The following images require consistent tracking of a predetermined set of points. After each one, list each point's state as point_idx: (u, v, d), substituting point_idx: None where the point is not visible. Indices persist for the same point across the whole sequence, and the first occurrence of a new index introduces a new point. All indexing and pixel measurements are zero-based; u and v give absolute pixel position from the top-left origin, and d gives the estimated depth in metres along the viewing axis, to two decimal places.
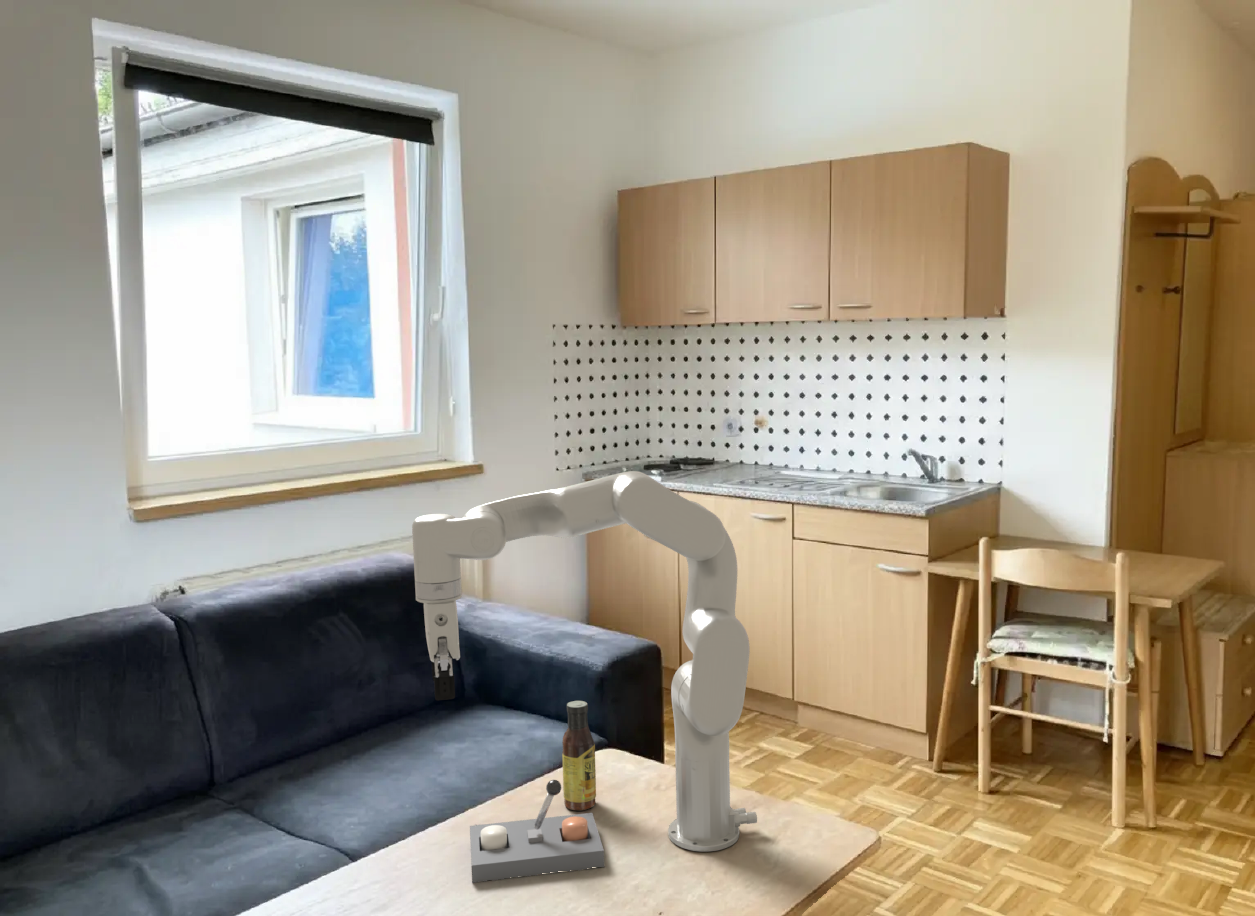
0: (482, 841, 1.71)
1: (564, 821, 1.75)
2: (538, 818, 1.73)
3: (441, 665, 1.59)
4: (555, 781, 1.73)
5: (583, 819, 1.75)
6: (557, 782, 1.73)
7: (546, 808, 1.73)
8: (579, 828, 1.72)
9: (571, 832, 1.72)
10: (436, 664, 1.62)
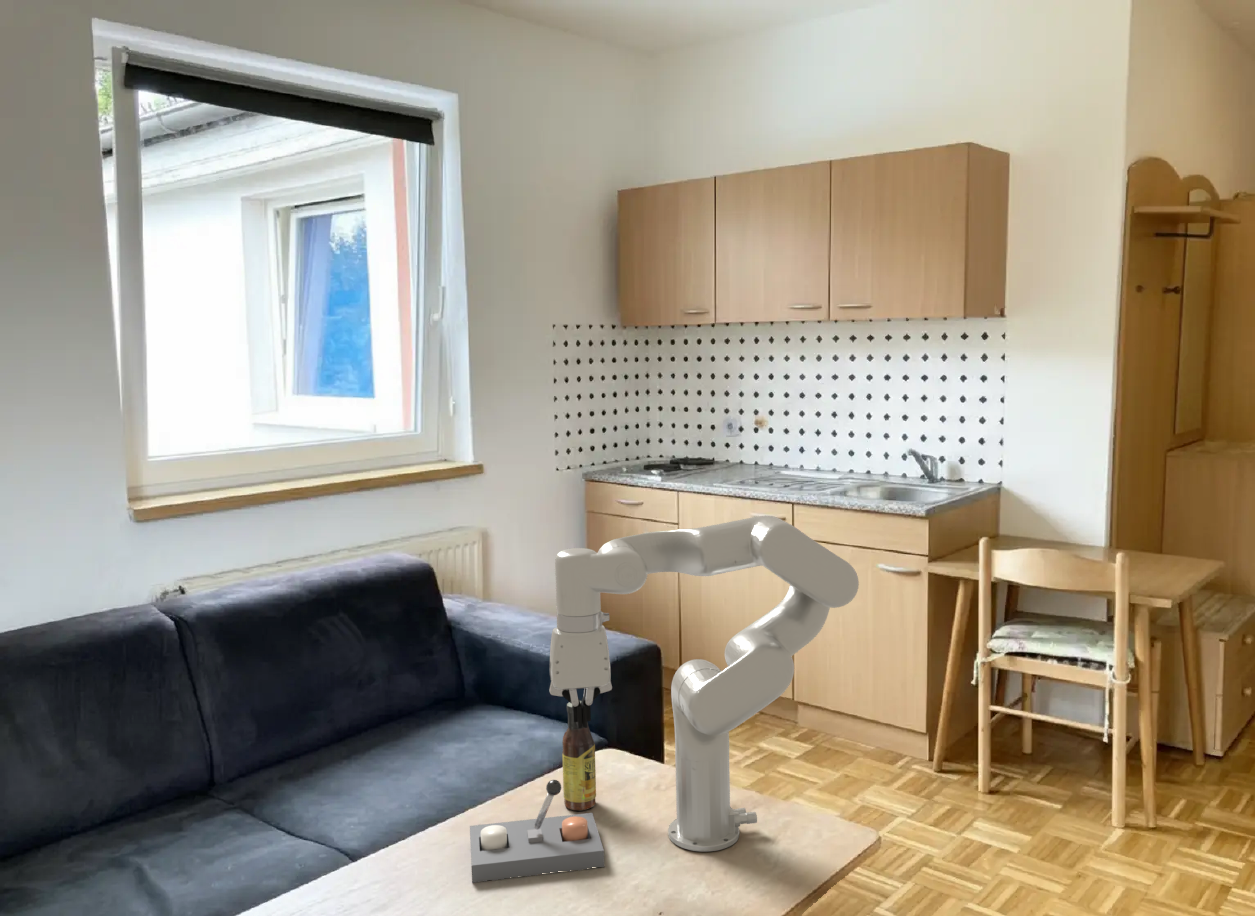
0: (482, 841, 1.71)
1: (564, 821, 1.75)
2: (538, 818, 1.73)
3: None
4: (555, 781, 1.73)
5: (583, 819, 1.75)
6: (557, 782, 1.73)
7: (546, 808, 1.73)
8: (579, 828, 1.72)
9: (571, 832, 1.72)
10: (593, 694, 1.71)
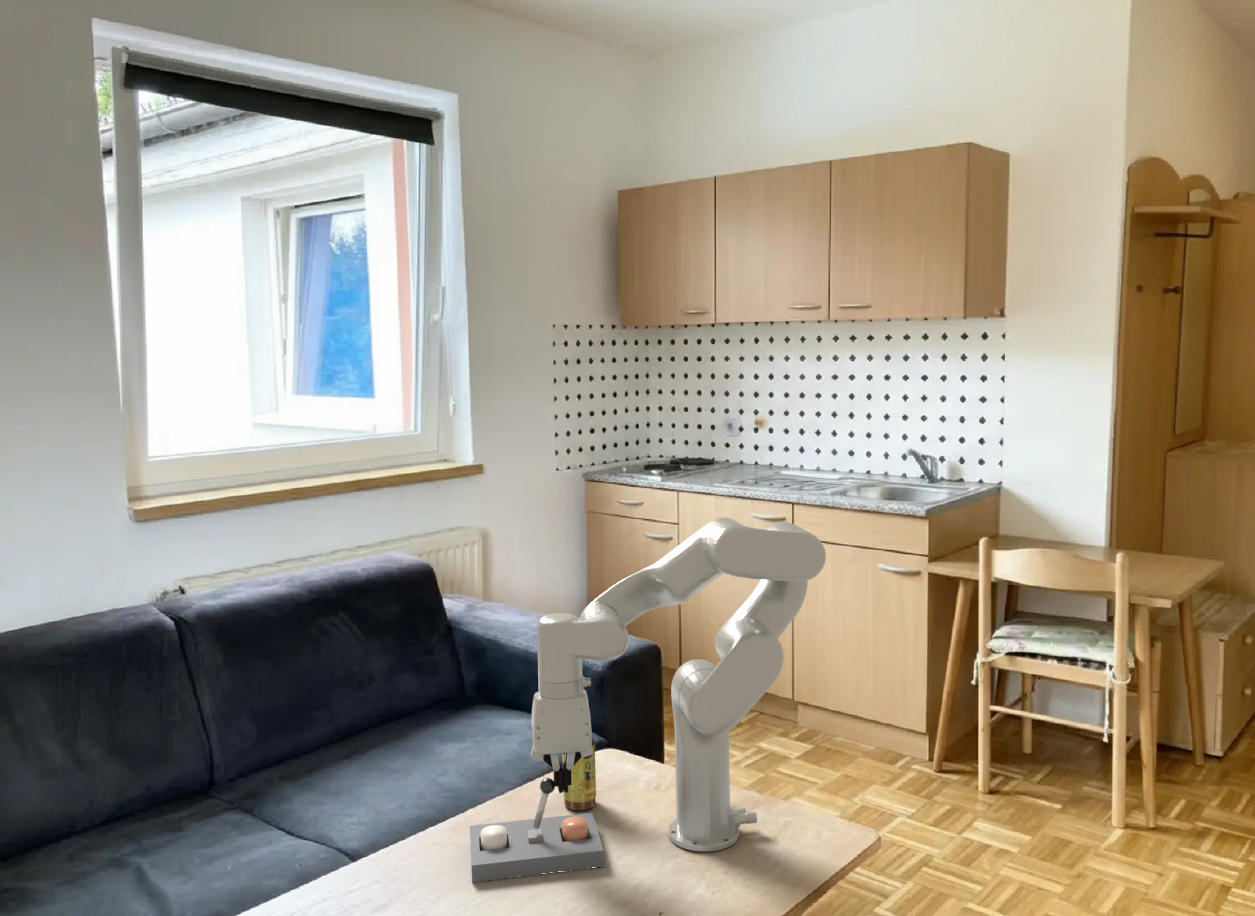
0: (482, 841, 1.71)
1: (564, 821, 1.75)
2: (536, 818, 1.73)
3: (584, 756, 1.73)
4: (548, 779, 1.72)
5: (583, 819, 1.75)
6: (550, 780, 1.72)
7: (542, 807, 1.73)
8: (579, 828, 1.72)
9: (571, 832, 1.72)
10: (574, 758, 1.72)
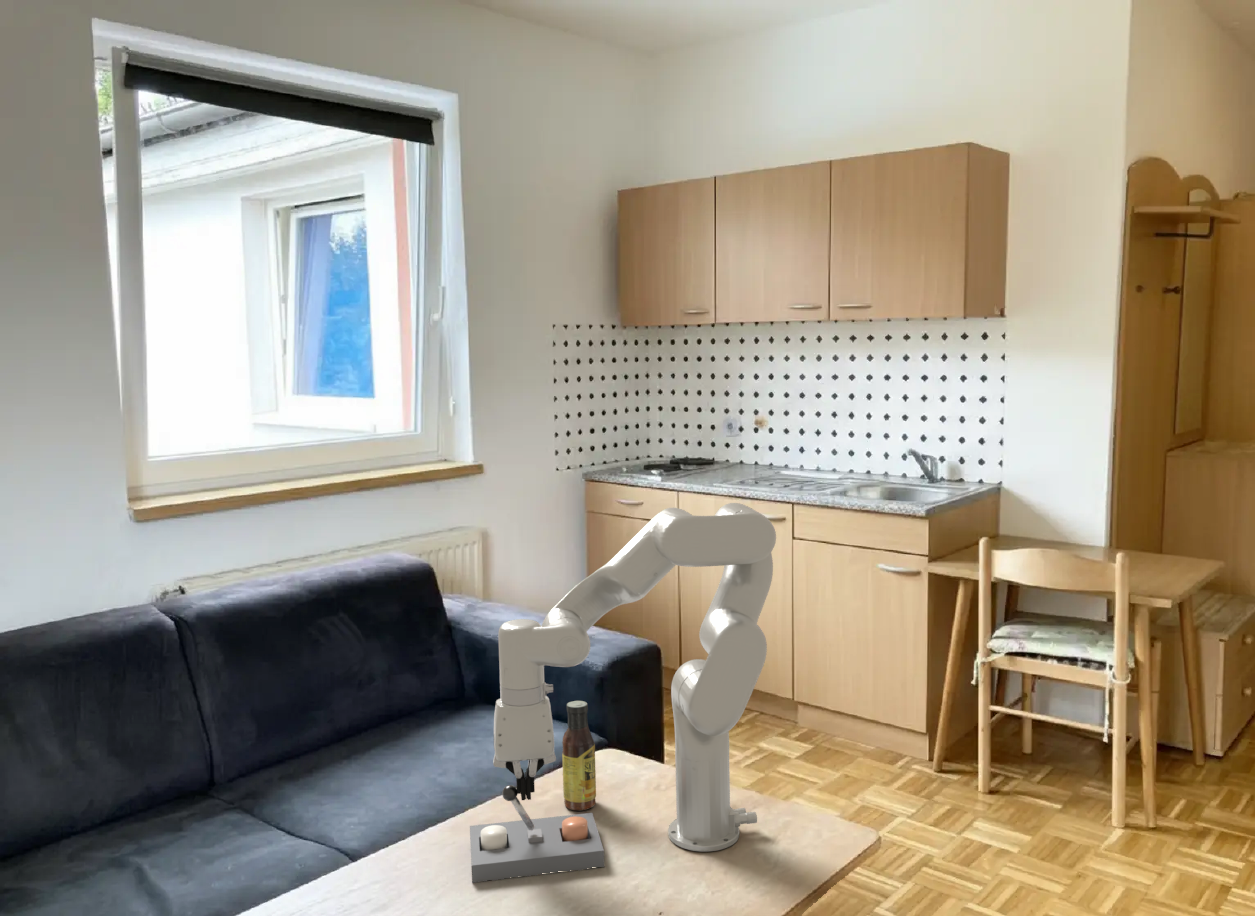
0: (482, 841, 1.71)
1: (564, 821, 1.75)
2: (524, 822, 1.72)
3: (546, 763, 1.72)
4: (505, 788, 1.71)
5: (583, 819, 1.75)
6: (507, 788, 1.71)
7: (521, 811, 1.72)
8: (579, 828, 1.72)
9: (571, 832, 1.72)
10: (536, 765, 1.71)
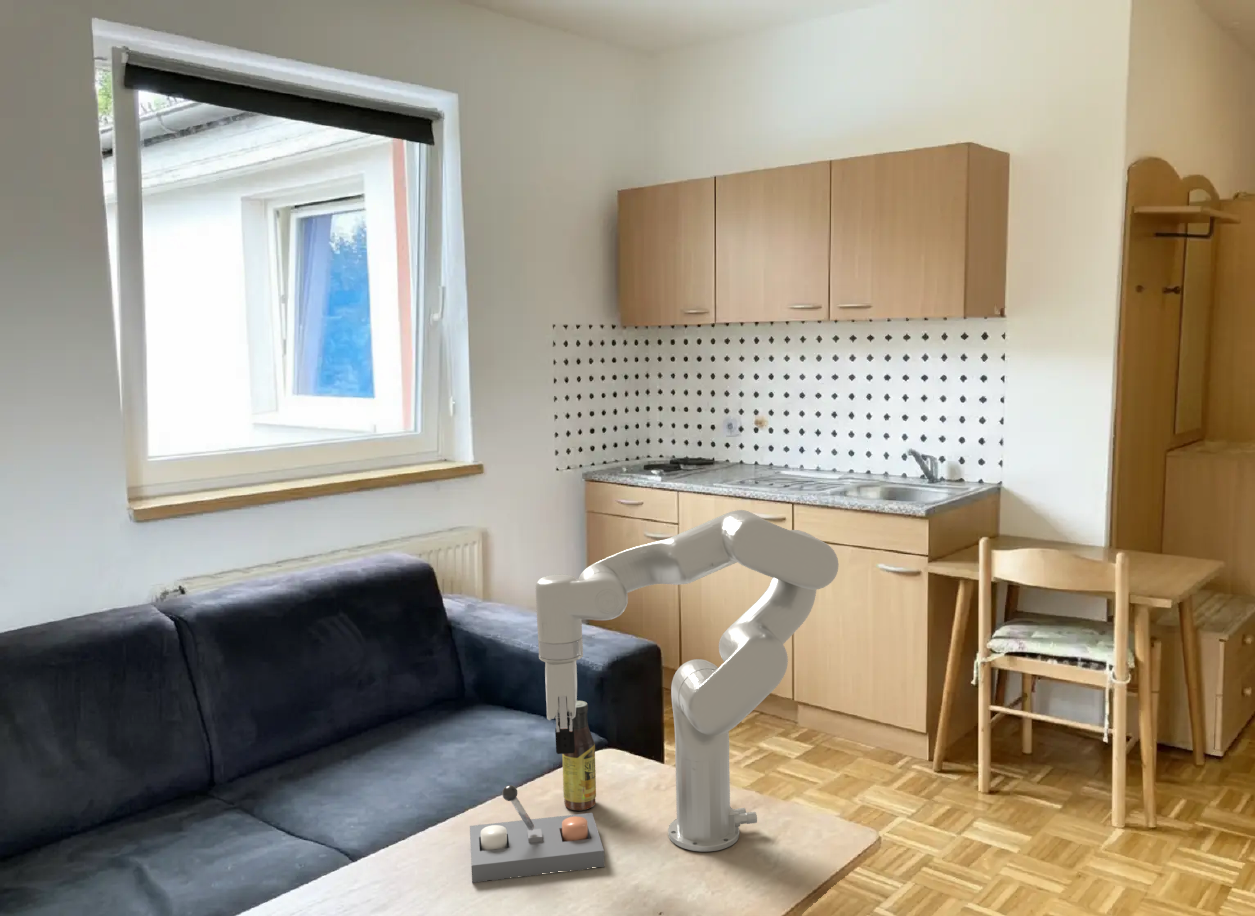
0: (482, 841, 1.71)
1: (564, 821, 1.75)
2: (524, 822, 1.72)
3: None
4: (505, 788, 1.71)
5: (583, 819, 1.75)
6: (507, 788, 1.71)
7: (521, 811, 1.72)
8: (579, 828, 1.72)
9: (571, 832, 1.72)
10: None
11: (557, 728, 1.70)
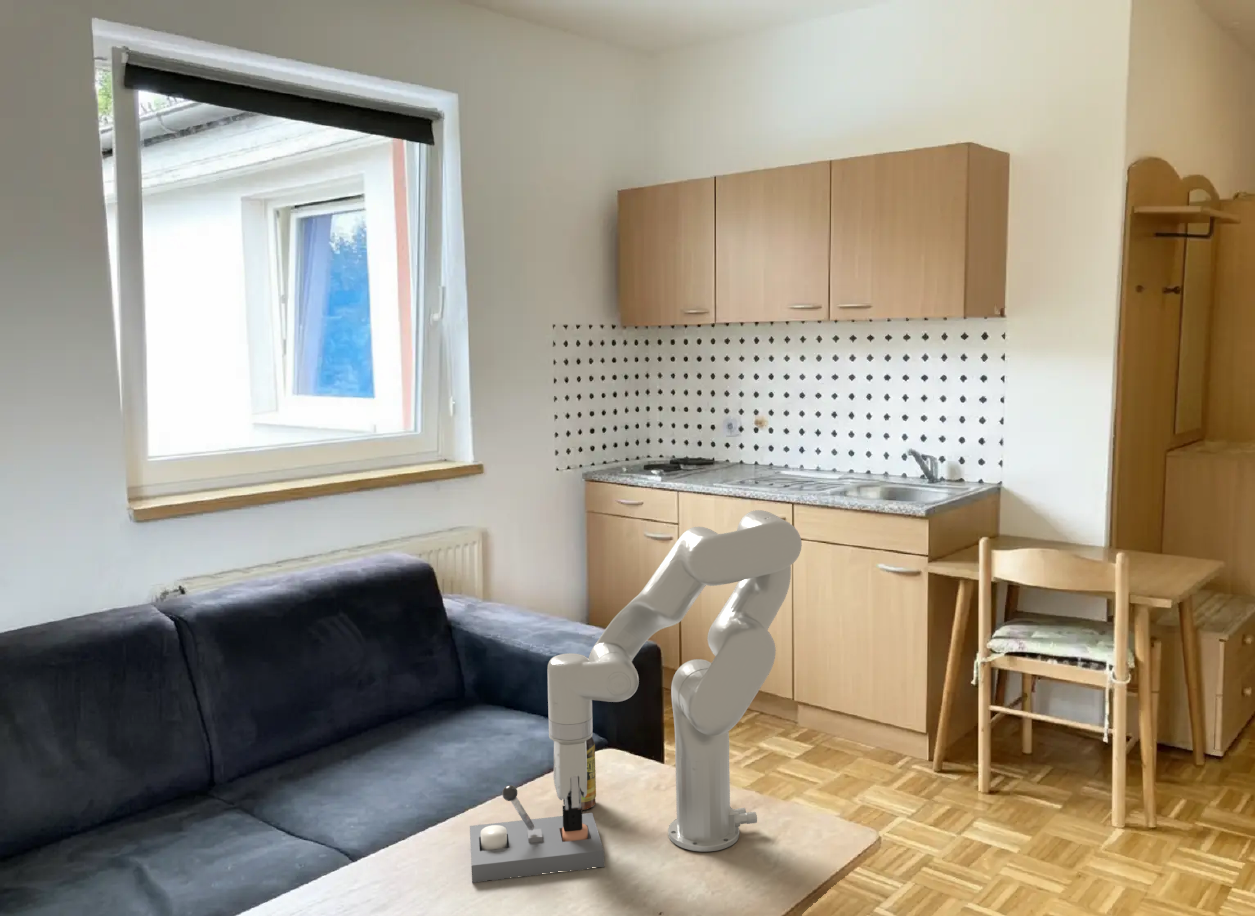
0: (482, 841, 1.71)
1: None
2: (524, 822, 1.72)
3: None
4: (505, 788, 1.71)
5: (583, 825, 1.76)
6: (507, 788, 1.71)
7: (521, 811, 1.72)
8: (579, 834, 1.73)
9: (571, 838, 1.72)
10: None
11: (566, 806, 1.72)
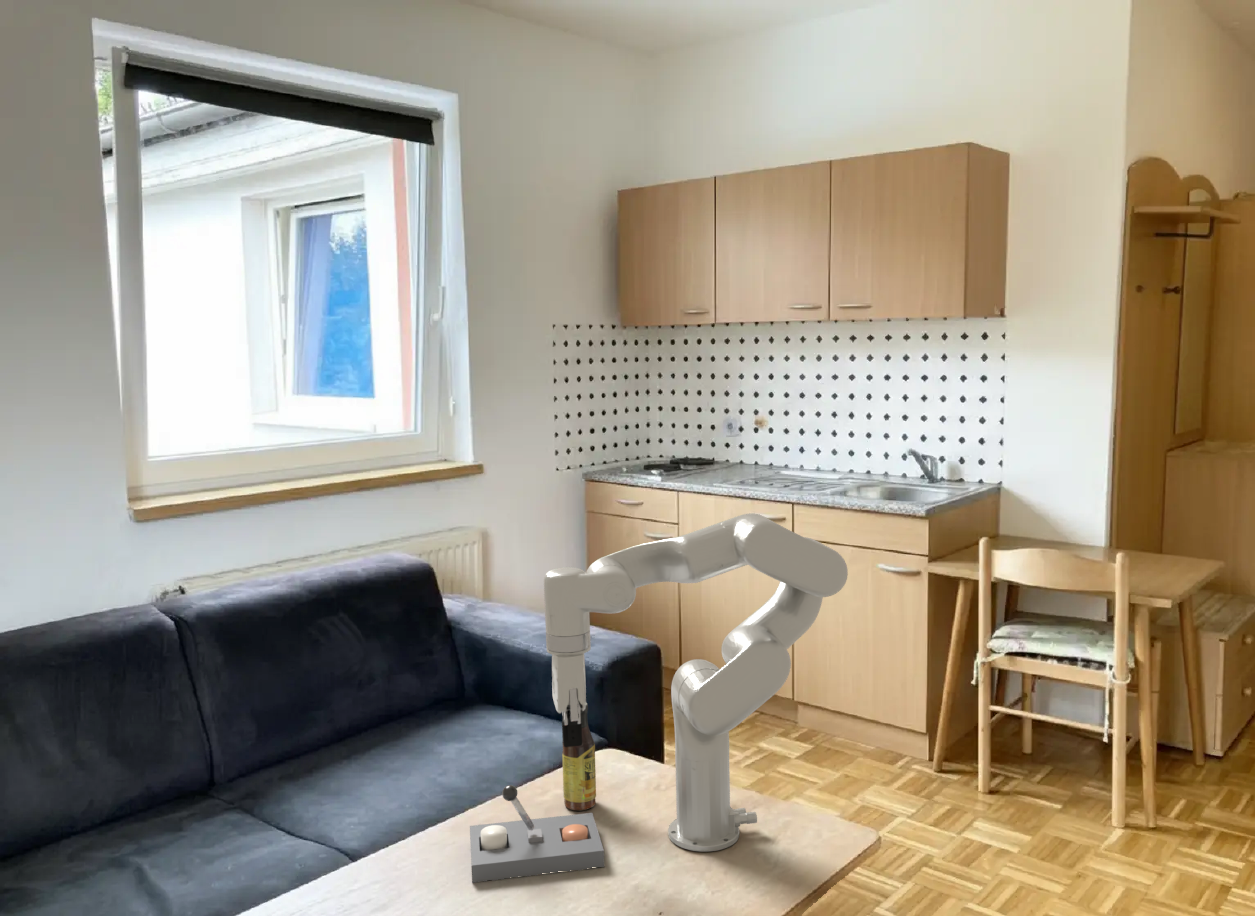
0: (482, 841, 1.71)
1: (564, 829, 1.75)
2: (524, 822, 1.72)
3: None
4: (505, 788, 1.71)
5: (583, 827, 1.76)
6: (507, 788, 1.71)
7: (521, 811, 1.72)
8: (579, 836, 1.73)
9: (571, 840, 1.73)
10: None
11: (565, 721, 1.70)
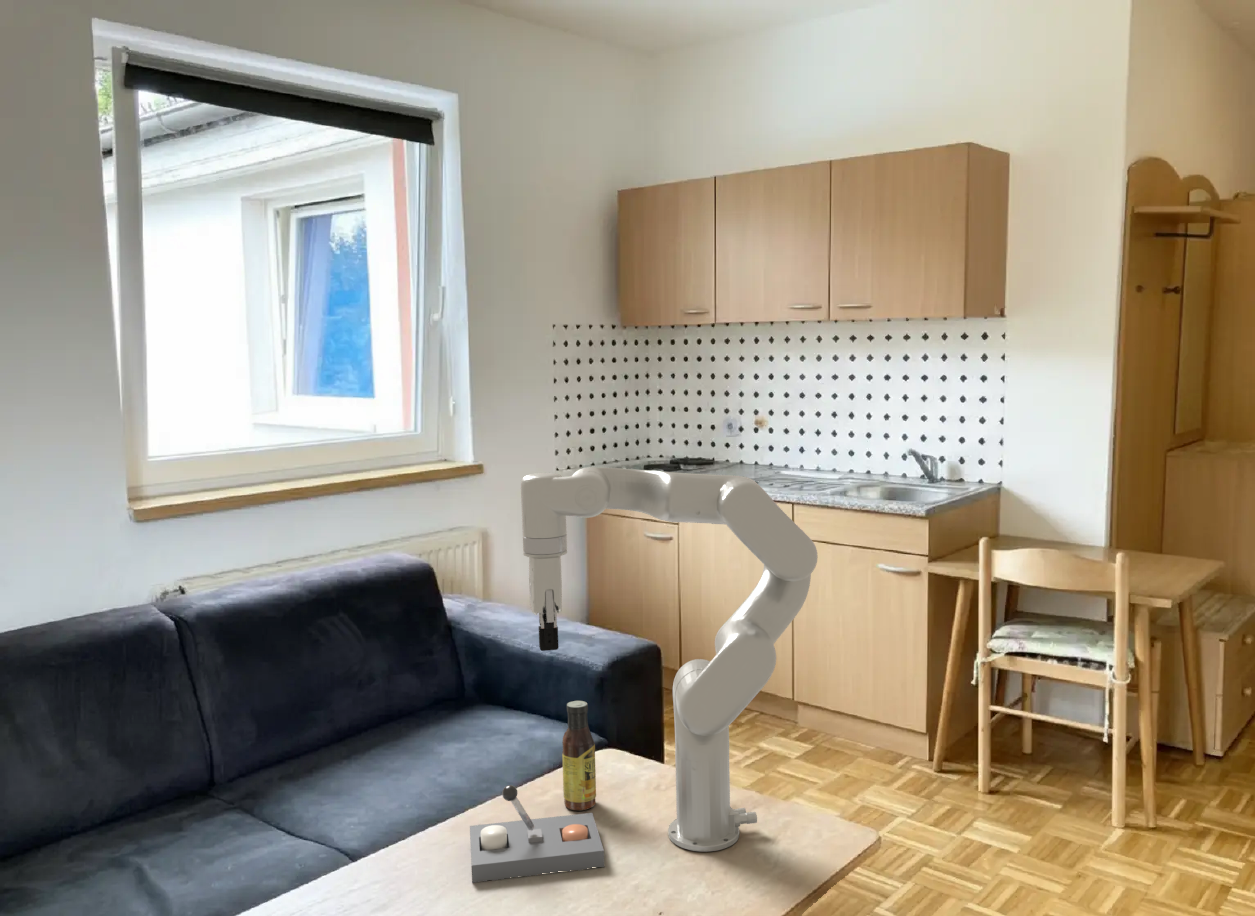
0: (482, 841, 1.71)
1: (564, 829, 1.75)
2: (524, 822, 1.72)
3: None
4: (505, 788, 1.71)
5: (583, 827, 1.76)
6: (507, 788, 1.71)
7: (521, 811, 1.72)
8: (579, 836, 1.73)
9: (571, 840, 1.73)
10: None
11: (542, 624, 1.72)
